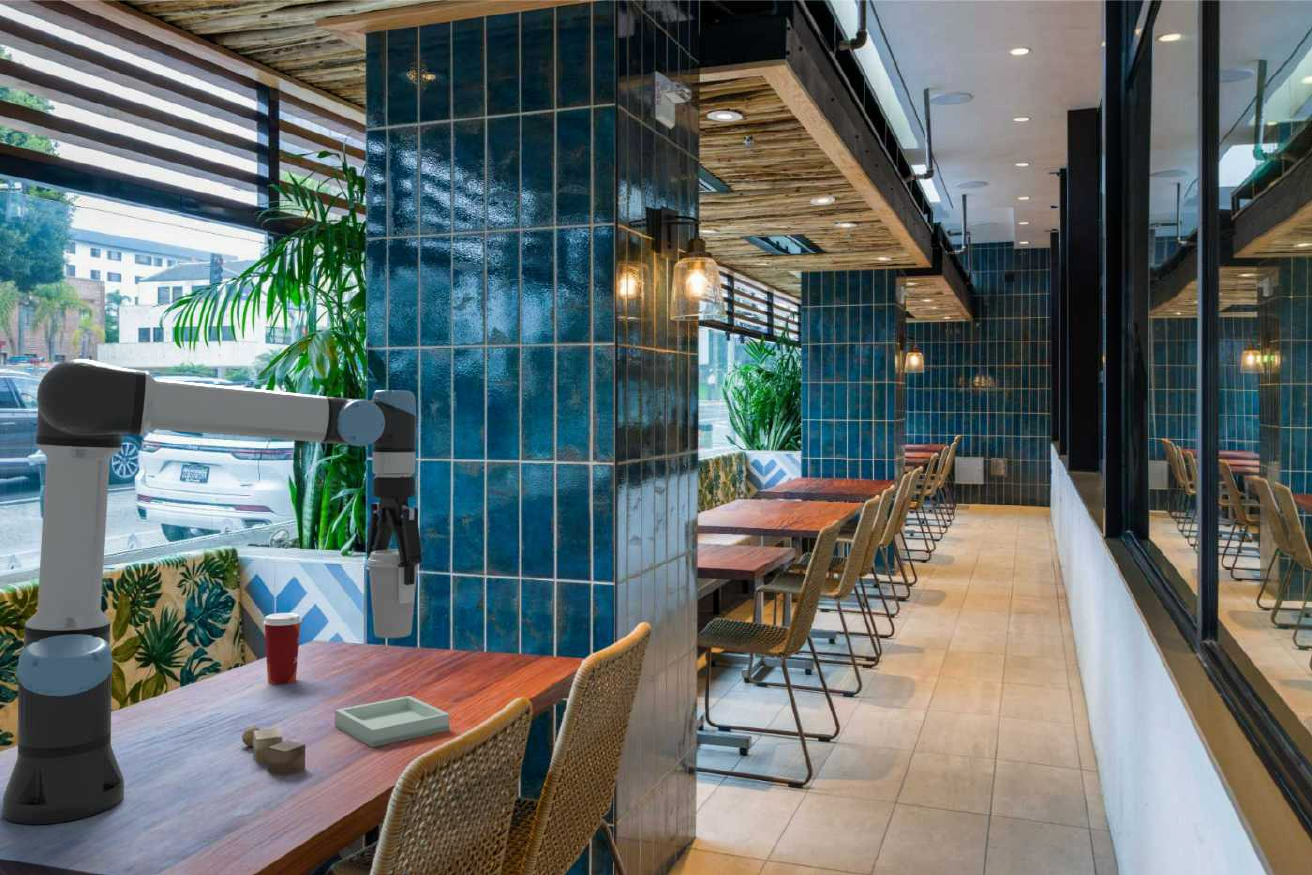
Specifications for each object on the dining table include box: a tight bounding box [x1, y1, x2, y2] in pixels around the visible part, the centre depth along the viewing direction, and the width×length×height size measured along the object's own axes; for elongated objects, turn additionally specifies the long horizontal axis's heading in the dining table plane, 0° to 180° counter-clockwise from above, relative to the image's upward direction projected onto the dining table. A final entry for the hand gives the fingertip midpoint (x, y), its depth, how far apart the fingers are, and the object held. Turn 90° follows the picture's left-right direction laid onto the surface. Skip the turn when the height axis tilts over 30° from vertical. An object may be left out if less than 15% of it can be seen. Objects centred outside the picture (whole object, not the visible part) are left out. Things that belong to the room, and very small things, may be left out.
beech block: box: [252, 727, 283, 764], centre depth 166 cm, size 4×5×4 cm
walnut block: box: [267, 739, 306, 777], centre depth 160 cm, size 4×4×4 cm
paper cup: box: [263, 612, 303, 685], centre depth 213 cm, size 8×8×14 cm
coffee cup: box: [365, 548, 421, 639], centre depth 182 cm, size 10×10×15 cm
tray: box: [334, 695, 451, 748], centre depth 182 cm, size 15×15×3 cm
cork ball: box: [241, 726, 261, 747], centre depth 171 cm, size 3×3×3 cm
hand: (393, 598), depth 182 cm, fingers closed on coffee cup, 9 cm apart
